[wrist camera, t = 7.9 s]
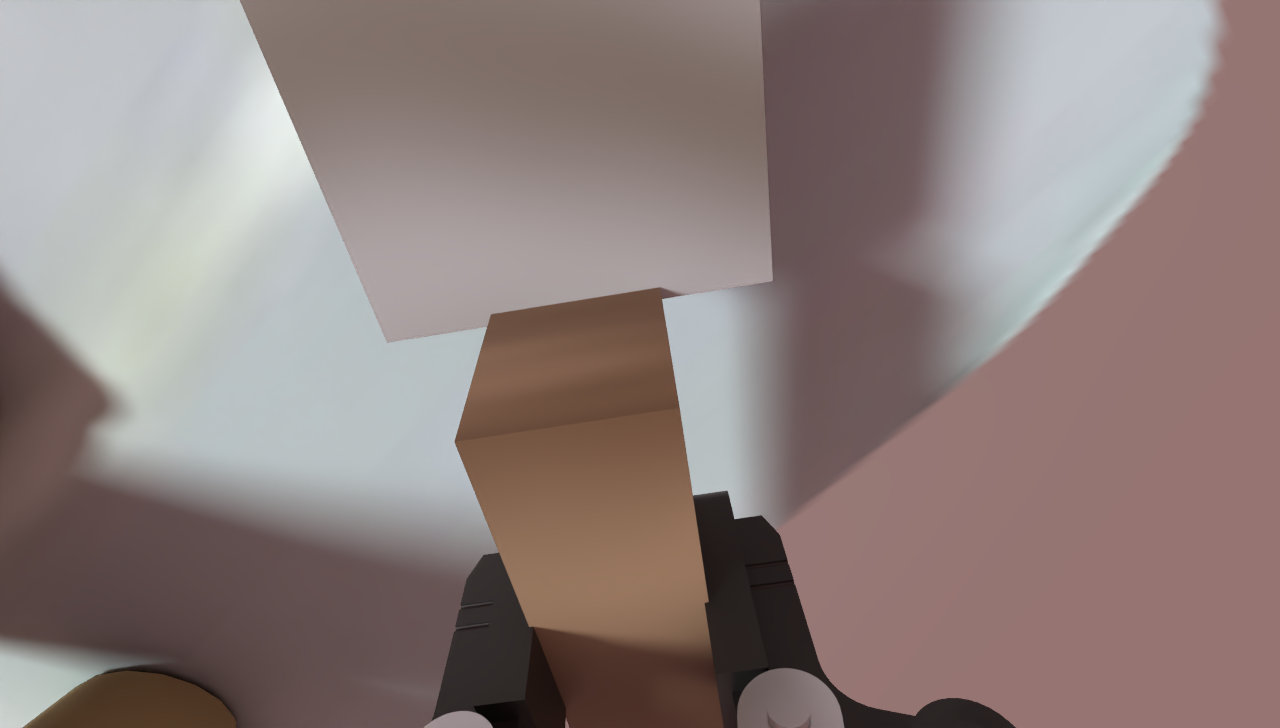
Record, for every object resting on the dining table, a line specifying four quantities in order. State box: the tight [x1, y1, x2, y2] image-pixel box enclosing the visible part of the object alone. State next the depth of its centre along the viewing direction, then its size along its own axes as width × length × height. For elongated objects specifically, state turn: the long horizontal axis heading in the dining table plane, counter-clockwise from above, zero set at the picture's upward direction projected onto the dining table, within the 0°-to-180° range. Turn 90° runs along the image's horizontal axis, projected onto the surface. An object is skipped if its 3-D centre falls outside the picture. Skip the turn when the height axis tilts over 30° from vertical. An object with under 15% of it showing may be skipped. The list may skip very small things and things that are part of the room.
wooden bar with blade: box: [240, 0, 773, 728], centre depth 11 cm, size 18×6×4 cm, turn 9°
